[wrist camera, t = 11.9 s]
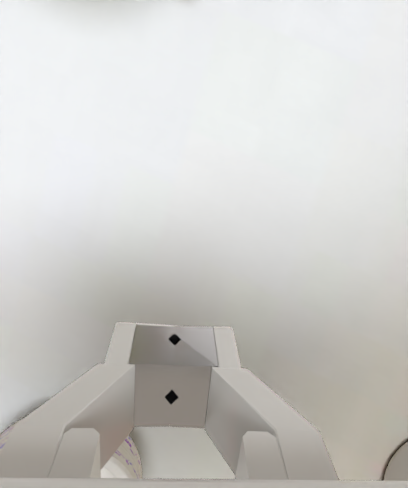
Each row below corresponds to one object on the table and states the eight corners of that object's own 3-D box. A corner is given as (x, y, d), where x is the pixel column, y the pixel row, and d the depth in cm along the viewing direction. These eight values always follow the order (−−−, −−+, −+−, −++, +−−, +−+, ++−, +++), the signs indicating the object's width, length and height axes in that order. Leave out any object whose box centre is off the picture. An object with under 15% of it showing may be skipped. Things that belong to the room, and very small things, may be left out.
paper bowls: (44, 362, 37) (17, 414, 29) (170, 430, 40) (176, 492, 33) (-40, 479, 38) (-87, 559, 30) (90, 535, 41) (78, 619, 34)
